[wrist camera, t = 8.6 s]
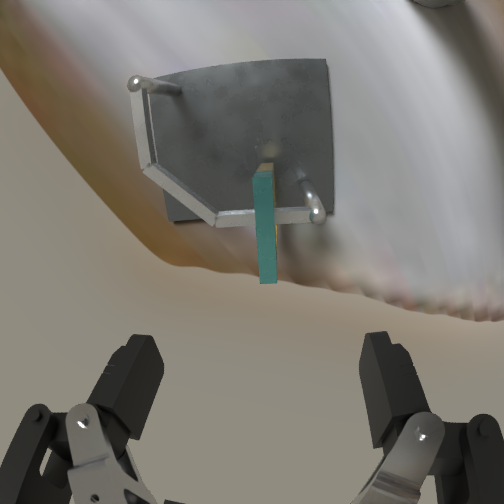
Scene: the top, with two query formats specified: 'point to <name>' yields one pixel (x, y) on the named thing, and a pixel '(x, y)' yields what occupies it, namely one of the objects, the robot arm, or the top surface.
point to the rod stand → (238, 139)
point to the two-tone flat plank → (265, 222)
